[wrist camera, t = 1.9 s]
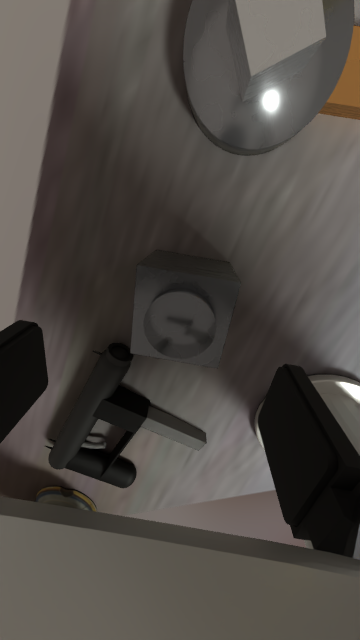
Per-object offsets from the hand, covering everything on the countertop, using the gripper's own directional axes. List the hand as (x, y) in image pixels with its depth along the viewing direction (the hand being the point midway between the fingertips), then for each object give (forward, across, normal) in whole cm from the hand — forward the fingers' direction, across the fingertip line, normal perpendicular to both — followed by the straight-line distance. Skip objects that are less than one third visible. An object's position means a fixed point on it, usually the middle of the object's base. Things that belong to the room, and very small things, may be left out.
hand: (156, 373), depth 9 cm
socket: (+13, -1, +1) cm, 13 cm away
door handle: (+13, +3, +18) cm, 23 cm away
